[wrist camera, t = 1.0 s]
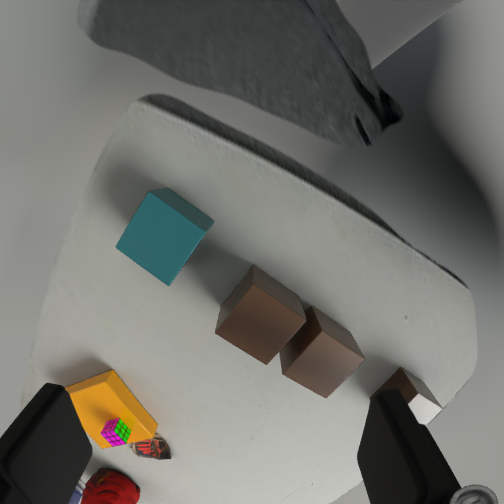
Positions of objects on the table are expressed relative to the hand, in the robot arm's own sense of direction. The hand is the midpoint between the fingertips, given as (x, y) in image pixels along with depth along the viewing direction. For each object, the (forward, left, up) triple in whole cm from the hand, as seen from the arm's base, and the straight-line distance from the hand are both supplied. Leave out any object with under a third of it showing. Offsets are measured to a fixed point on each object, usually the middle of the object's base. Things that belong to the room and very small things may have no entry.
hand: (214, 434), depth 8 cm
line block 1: (+2, +3, -18) cm, 18 cm away
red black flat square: (+24, +4, -18) cm, 30 cm away
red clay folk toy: (+36, +4, -18) cm, 40 cm away
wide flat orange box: (+21, -2, -18) cm, 28 cm away
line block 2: (+2, +9, -18) cm, 20 cm away
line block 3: (+2, +21, -18) cm, 28 cm away
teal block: (+1, -6, -18) cm, 19 cm away
